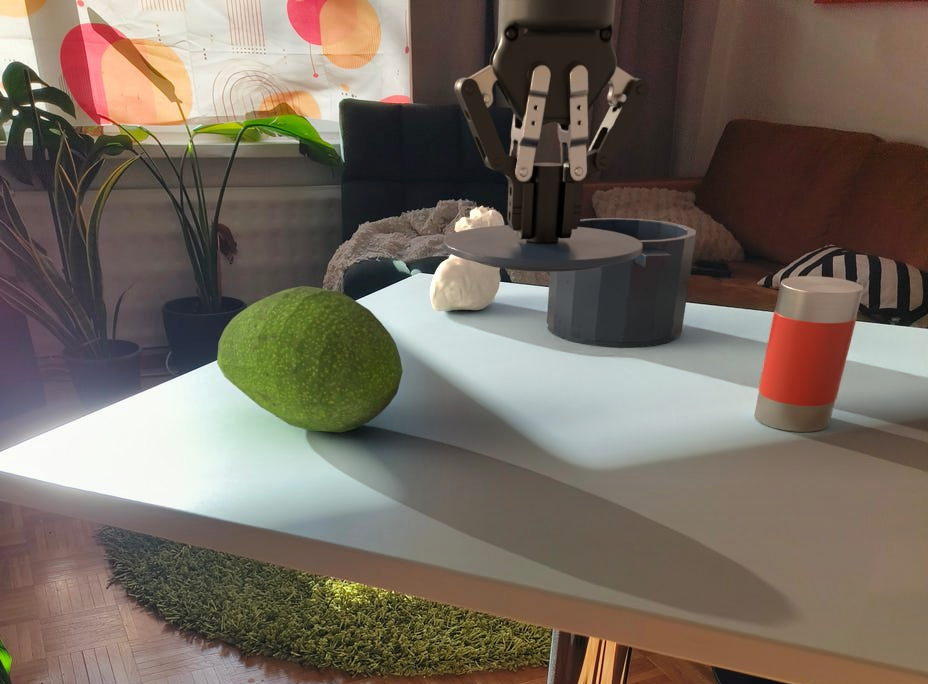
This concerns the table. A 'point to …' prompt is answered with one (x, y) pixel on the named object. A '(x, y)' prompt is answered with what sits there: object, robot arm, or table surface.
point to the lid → (543, 237)
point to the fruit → (312, 359)
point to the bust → (467, 272)
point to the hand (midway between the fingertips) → (543, 235)
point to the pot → (626, 289)
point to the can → (807, 352)
